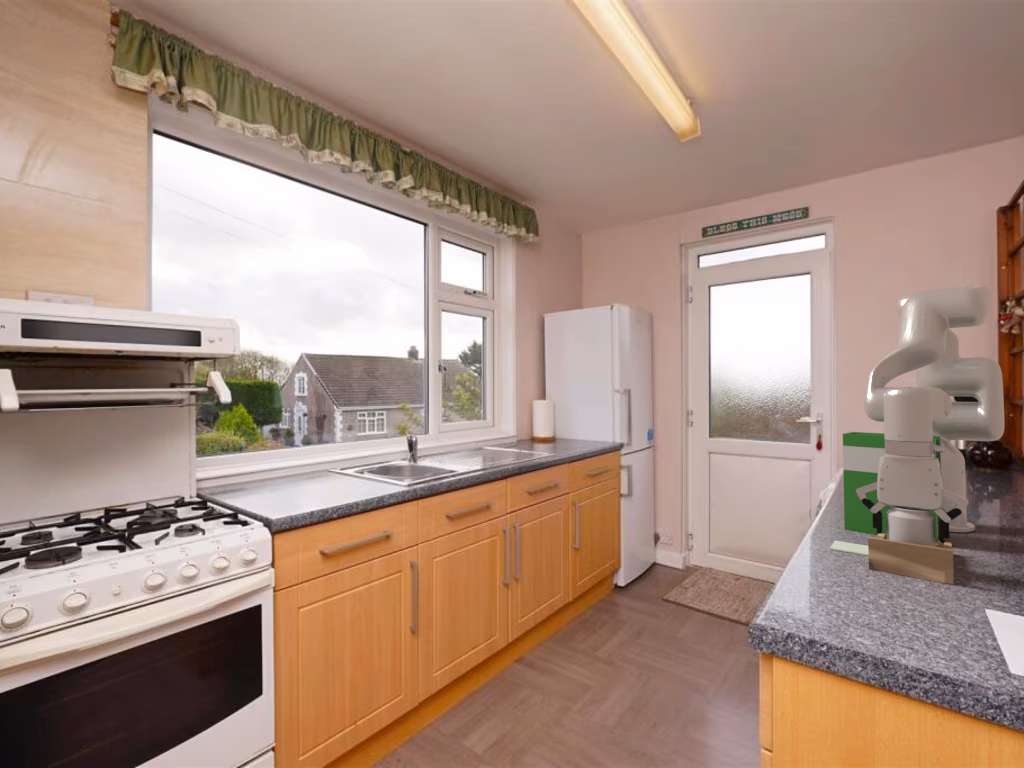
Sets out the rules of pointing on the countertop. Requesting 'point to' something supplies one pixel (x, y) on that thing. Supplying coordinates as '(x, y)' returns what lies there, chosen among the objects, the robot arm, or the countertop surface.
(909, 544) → the frame
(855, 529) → the hardback book
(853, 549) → the mat
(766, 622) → the countertop surface
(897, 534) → the can
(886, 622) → the countertop surface
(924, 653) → the countertop surface
